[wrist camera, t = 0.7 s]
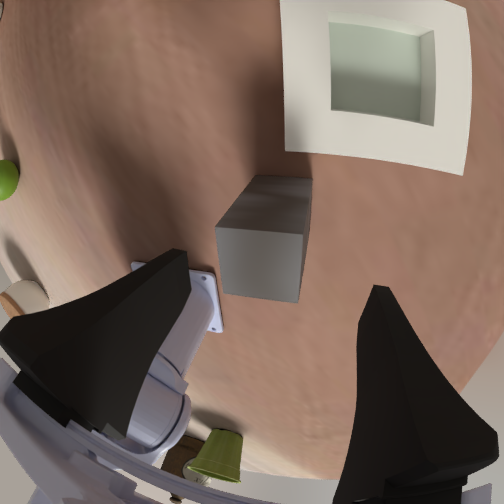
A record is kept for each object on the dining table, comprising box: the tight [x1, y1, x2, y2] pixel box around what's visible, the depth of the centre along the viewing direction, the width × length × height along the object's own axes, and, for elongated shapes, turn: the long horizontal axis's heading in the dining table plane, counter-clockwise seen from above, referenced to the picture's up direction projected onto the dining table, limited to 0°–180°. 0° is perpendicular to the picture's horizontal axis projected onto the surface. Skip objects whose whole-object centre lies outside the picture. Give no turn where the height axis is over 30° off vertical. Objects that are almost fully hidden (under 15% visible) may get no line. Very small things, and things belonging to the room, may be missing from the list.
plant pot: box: [187, 429, 243, 483], centre depth 47 cm, size 12×12×11 cm
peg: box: [215, 175, 312, 303], centre depth 16 cm, size 4×4×8 cm
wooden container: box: [161, 435, 212, 504], centre depth 57 cm, size 15×15×22 cm
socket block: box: [280, 0, 472, 176], centre depth 12 cm, size 11×11×3 cm
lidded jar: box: [0, 280, 50, 319], centre depth 36 cm, size 11×11×9 cm
